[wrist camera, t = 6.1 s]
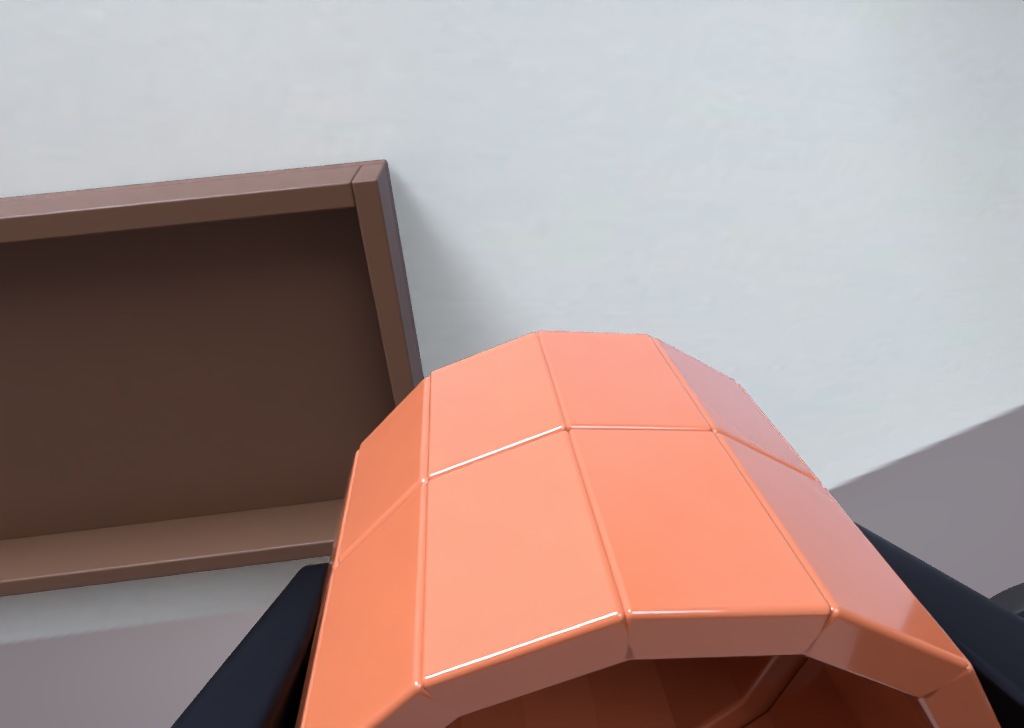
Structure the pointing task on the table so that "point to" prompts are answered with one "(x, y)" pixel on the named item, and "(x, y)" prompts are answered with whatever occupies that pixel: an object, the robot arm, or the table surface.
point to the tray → (193, 369)
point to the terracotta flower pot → (611, 563)
